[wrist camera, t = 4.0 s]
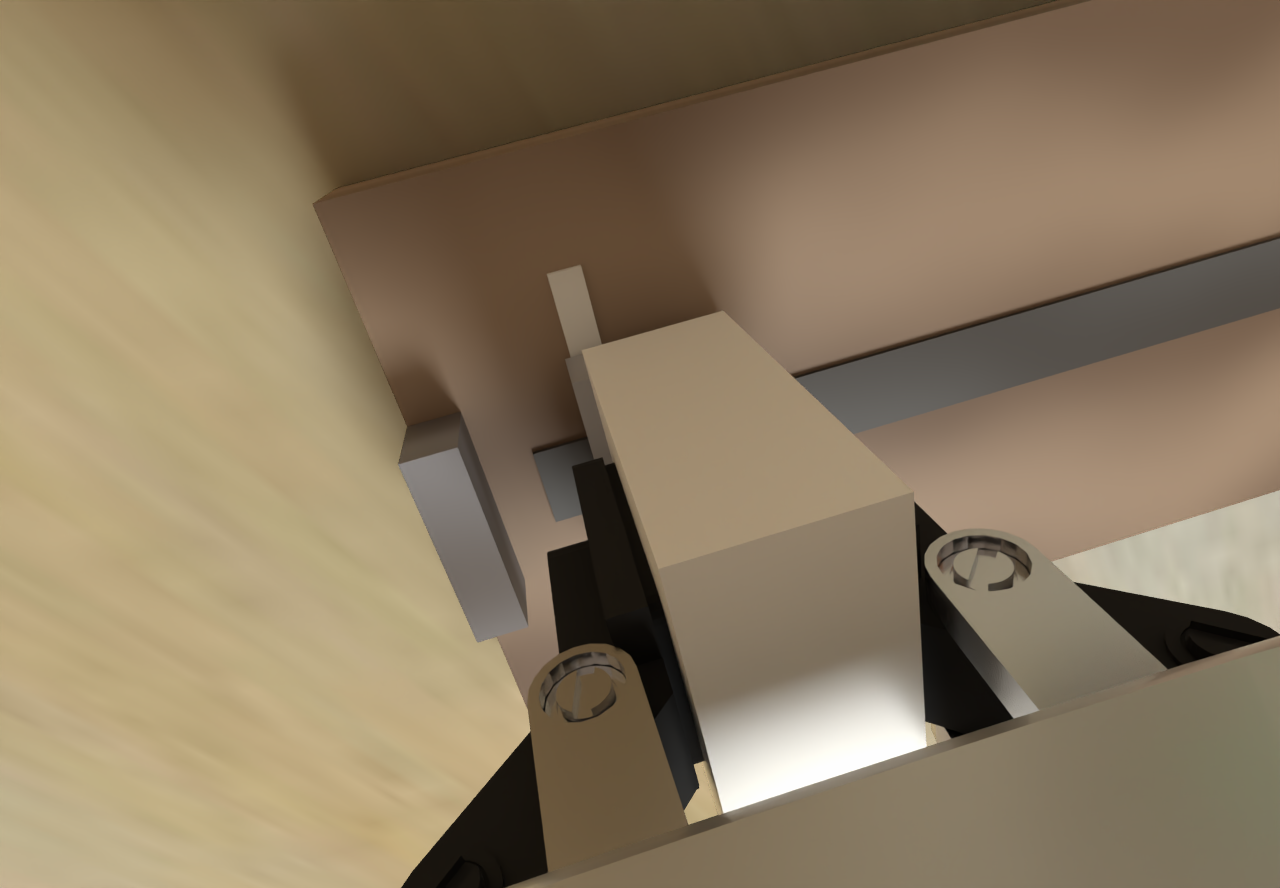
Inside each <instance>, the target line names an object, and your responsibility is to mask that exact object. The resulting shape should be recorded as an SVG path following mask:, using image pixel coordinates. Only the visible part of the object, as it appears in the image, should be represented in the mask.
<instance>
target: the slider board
mask: <svg viewBox="0 0 1280 888" xmlns="http://www.w3.org/2000/svg"><path fill="white" fill-rule="evenodd" d="M313 206H314V208H315V211H316V213H317V216H318V218H319V220H320V223H321V225H322V227H323V230H324V232H325V234H326V237H327V239H328V241H329V244H330V246H331V248H332V251H333V253H334V255H335V258H336V260H337V263H338V265H339V267H340V270H341V272H342V274H343V277H344V279H345V281H346V284H347V286H348V288H349V291H350V293H351V295H352V298H353V300H354V302H355V305H356V307H357V310H358V312H359V314H360V317H361V319H362V321H363V324H364V326H365V328H366V331H367V333H368V335H369V338H370V340H371V342H372V345H373V347H374V349H375V352H376V354H377V357H378V359H379V361H380V364H381V366H382V368H383V371H384V373H385V375H386V378H387V380H388V382H389V385H390V387H391V389H392V392H393V394H394V396H395V399H396V401H397V404H398V406H399V408H400V411H401V413H402V415H403V418H404V420H405V422H406V425H407V430H406V434H405V438H404V442H403V446H402V451H401V455H400V459H399V463H398V465H399V468H400V470H401V472H402V474H403V477H404V479H405V481H406V483H407V486H408V488H409V490H410V492H411V495H412V497H413V499H414V501H415V504H416V506H417V508H418V510H419V513H420V515H421V517H422V519H423V522H424V524H425V526H426V528H427V531H428V533H429V535H430V537H431V539H432V542H433V544H434V546H435V548H436V551H437V553H438V555H439V557H440V560H441V562H442V564H443V566H444V569H445V571H446V573H447V575H448V578H449V580H450V582H451V584H452V587H453V589H454V591H455V593H456V596H457V598H458V600H459V602H460V605H461V607H462V609H463V611H464V614H465V616H466V618H467V620H468V623H469V625H470V627H471V629H472V632H473V634H474V636H475V638H476V641H477V642H481V641H484V640H487V639H491V638H494V637H497V638H498V641H499V643H500V646H501V648H502V650H503V653H504V655H505V657H506V660H507V662H508V664H509V667H510V669H511V671H512V674H513V676H514V678H515V681H516V683H517V685H518V688H519V690H520V693H521V695H522V697H523V700H524V702H525V704H526V707H527V701H528V690H529V688H530V686H531V684H532V681H533V679H534V677H535V676H536V675H537V673H538V672H539V671H540V670H541V669H542V667H543V666H544V665H545V664H546V663H548V662H549V661H550V660H552V659H553V658H554V657H556V656H557V655H558V654H559V649H558V641H557V633H556V625H555V616H554V608H553V600H552V592H551V584H550V576H549V568H548V560H547V553H548V552H549V551H552V550H556V549H559V548H562V547H566V546H569V545H573V544H576V543H579V542H583V541H586V540H588V539H587V534H586V529H585V525H584V520H583V516H582V511H581V507H580V502H579V497H578V493H577V488H576V484H575V479H574V475H573V470H572V466H574V465H577V464H580V463H584V462H587V461H591V460H594V457H593V454H592V451H591V447H590V444H589V440H588V437H587V434H586V430H585V427H584V423H583V420H582V417H581V413H580V410H579V406H578V403H577V400H576V396H575V393H574V389H573V386H572V382H571V379H570V375H569V372H568V368H567V365H566V361H565V359H567V358H570V357H574V356H578V355H581V354H582V350H584V349H588V348H592V347H595V346H599V345H602V344H606V343H609V342H613V341H617V340H620V339H624V338H627V337H631V336H634V335H638V334H641V333H645V332H649V331H652V330H656V329H659V328H663V327H666V326H670V325H674V324H677V323H681V322H684V321H688V320H691V319H695V318H698V317H702V316H706V315H709V314H713V313H716V312H720V311H724V312H725V313H726V314H727V315H728V316H729V317H730V318H731V319H733V320H734V321H735V322H736V323H737V324H738V325H739V326H740V327H741V328H742V329H743V330H744V331H745V332H746V333H747V334H748V335H749V336H750V337H751V338H753V339H754V340H755V341H756V342H757V343H758V344H759V345H760V346H761V347H762V348H763V349H764V350H765V351H766V352H767V353H768V354H769V355H770V356H771V357H773V358H774V359H775V360H776V361H777V362H778V363H779V364H780V365H781V366H782V367H783V368H784V369H785V370H786V371H787V372H788V373H789V374H790V375H791V376H793V377H794V378H795V379H796V380H797V381H798V382H799V383H800V384H801V385H802V386H803V387H804V388H805V389H806V390H807V391H808V392H809V393H810V394H811V395H813V396H814V397H815V398H816V399H817V400H818V401H819V402H820V403H821V404H822V405H823V406H824V407H825V408H826V409H827V410H828V411H829V412H830V413H831V414H833V415H834V416H835V417H836V418H837V419H838V420H839V421H840V422H841V423H842V424H843V425H844V426H845V427H846V428H847V429H848V430H849V431H850V432H851V433H853V434H854V435H855V436H856V437H857V438H858V439H859V440H860V441H861V442H862V443H863V444H864V445H865V446H866V447H867V448H868V449H869V450H870V451H871V452H873V453H874V454H875V455H876V456H877V457H878V458H879V459H880V460H881V461H882V462H883V463H884V464H885V465H886V466H887V467H888V468H889V469H890V470H891V471H893V472H894V473H895V474H896V475H897V476H898V477H899V478H900V479H901V480H902V481H903V482H904V483H905V484H906V485H907V486H908V487H909V488H910V489H911V490H913V491H914V501H915V502H916V503H917V504H918V505H919V506H920V507H921V508H922V509H923V510H924V511H925V512H926V513H927V514H928V515H929V516H930V517H931V518H932V519H933V520H934V521H935V522H936V523H937V524H938V525H939V526H940V527H941V528H942V529H943V530H944V531H945V532H946V533H947V534H948V533H951V532H953V531H958V530H965V529H971V528H973V529H993V530H998V531H1003V532H1007V533H1010V534H1012V535H1015V536H1018V537H1020V538H1023V539H1024V540H1026V541H1027V542H1028V543H1030V544H1031V545H1033V546H1034V547H1036V548H1037V549H1038V550H1039V551H1040V552H1041V553H1042V554H1043V555H1044V556H1045V557H1047V558H1048V559H1049V560H1050V561H1055V560H1058V559H1061V558H1064V557H1067V556H1071V555H1074V554H1077V553H1080V552H1083V551H1086V550H1090V549H1093V548H1096V547H1099V546H1102V545H1106V544H1109V543H1112V542H1115V541H1118V540H1122V539H1125V538H1128V537H1131V536H1134V535H1138V534H1141V533H1144V532H1147V531H1150V530H1154V529H1157V528H1160V527H1163V526H1166V525H1169V524H1173V523H1176V522H1179V521H1182V520H1185V519H1189V518H1192V517H1195V516H1198V515H1201V514H1205V513H1208V512H1211V511H1214V510H1217V509H1221V508H1224V507H1227V506H1230V505H1233V504H1237V503H1240V502H1243V501H1246V500H1249V499H1253V498H1256V497H1259V496H1262V495H1265V494H1268V493H1272V492H1275V491H1278V490H1280V0H1058V1H1054V2H1050V3H1046V4H1042V5H1038V6H1035V7H1031V8H1027V9H1023V10H1019V11H1015V12H1012V13H1008V14H1004V15H1000V16H996V17H992V18H989V19H985V20H981V21H977V22H973V23H969V24H966V25H962V26H958V27H954V28H950V29H946V30H942V31H939V32H935V33H931V34H927V35H923V36H919V37H916V38H912V39H908V40H904V41H900V42H896V43H893V44H889V45H885V46H881V47H877V48H873V49H870V50H866V51H862V52H858V53H854V54H850V55H846V56H843V57H839V58H835V59H831V60H827V61H823V62H820V63H816V64H812V65H808V66H804V67H800V68H797V69H793V70H789V71H785V72H781V73H777V74H773V75H770V76H766V77H762V78H758V79H754V80H750V81H747V82H743V83H739V84H735V85H731V86H727V87H724V88H720V89H716V90H712V91H708V92H704V93H701V94H697V95H693V96H689V97H685V98H681V99H677V100H674V101H670V102H666V103H662V104H658V105H654V106H651V107H647V108H643V109H639V110H635V111H631V112H628V113H624V114H620V115H616V116H612V117H608V118H605V119H601V120H597V121H593V122H589V123H585V124H581V125H578V126H574V127H570V128H566V129H562V130H558V131H555V132H551V133H547V134H543V135H539V136H535V137H532V138H528V139H524V140H520V141H516V142H512V143H509V144H505V145H501V146H497V147H493V148H489V149H485V150H482V151H478V152H474V153H470V154H466V155H462V156H459V157H455V158H451V159H447V160H443V161H439V162H436V163H432V164H428V165H424V166H420V167H416V168H412V169H409V170H405V171H401V172H397V173H393V174H389V175H386V176H382V177H378V178H374V179H370V180H366V181H363V182H359V183H355V184H351V185H347V186H343V187H340V188H336V189H335V190H333V191H332V192H330V193H329V194H327V195H325V196H324V197H322V198H321V199H319V200H318V201H316V202H315V203H313ZM527 709H528V707H527Z"/></svg>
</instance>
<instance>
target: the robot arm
mask: <svg viewBox="0 0 1280 888" xmlns="http://www.w3.org/2000/svg"><path fill="white" fill-rule="evenodd" d="M572 470H573V475H574V479H575V484H576V488H577V493H578V497H579V502H580V507H581V511H582V516H583V520H584V525H585V529H586V534H587V539H588V540H586V541H583V542H579V543H576V544H573V545H569V546H566V547H562V548H559V549H556V550H552V551H549V552H548V553H547V560H548V568H549V576H550V584H551V592H552V600H553V608H554V616H555V625H556V633H557V641H558V649H559V654H558V655H557V656H556V657H554V658H553V659H552V660H550V661H549V662H548V663H546V664H545V665H544V666H543V667H542V669H541V670H540V671H539V672H538V673H537V675H536V676H535V677H534V679H533V681H532V684H531V686H530V688H529V690H528V701H527V707H528V715H529V723H530V733H529V734H528V735H527V736H526V737H525V739H524V740H523V741H522V742H521V743H520V744H519V746H518V747H517V748H516V749H515V750H514V752H513V753H512V754H511V755H510V756H509V758H508V759H507V760H506V761H505V762H504V763H503V765H502V766H501V767H500V768H499V769H498V771H497V772H496V773H495V774H494V775H493V777H492V778H491V779H490V780H489V781H488V782H487V784H486V785H485V786H484V787H483V788H482V790H481V791H480V792H479V793H478V794H477V795H476V797H475V798H474V799H473V800H472V801H471V803H470V804H469V805H468V806H467V807H466V809H465V810H464V811H463V812H462V813H461V814H460V816H459V817H458V818H457V819H456V820H455V822H454V823H453V824H452V825H451V826H450V827H449V829H448V830H447V831H446V832H445V833H444V835H443V836H442V837H441V838H440V839H439V841H438V842H437V843H436V844H435V845H434V846H433V848H432V849H431V850H430V851H429V852H428V854H427V855H426V856H425V857H424V858H423V859H422V861H421V862H420V863H419V864H418V865H417V867H416V868H415V869H414V870H413V871H412V873H411V874H410V876H409V877H408V879H407V880H406V882H405V883H404V885H403V886H402V887H401V888H1280V634H1279V633H1277V632H1276V631H1274V630H1273V629H1271V628H1270V627H1267V626H1265V625H1263V624H1261V623H1259V622H1256V621H1254V620H1252V619H1250V618H1247V617H1244V616H1240V615H1237V614H1233V613H1229V612H1226V611H1221V610H1216V609H1211V608H1205V607H1200V606H1195V605H1190V604H1185V603H1180V602H1174V601H1169V600H1164V599H1159V598H1154V597H1148V596H1143V595H1138V594H1133V593H1128V592H1122V591H1117V590H1112V589H1107V588H1102V587H1097V586H1091V585H1086V584H1081V583H1076V582H1073V581H1072V580H1070V579H1069V578H1068V577H1067V576H1066V575H1065V574H1064V573H1063V572H1062V571H1061V570H1060V569H1059V568H1057V567H1056V566H1055V565H1054V564H1053V563H1052V562H1051V561H1050V560H1049V559H1048V558H1047V557H1045V556H1044V555H1043V554H1042V553H1041V552H1040V551H1039V550H1038V549H1037V548H1036V547H1034V546H1033V545H1031V544H1030V543H1028V542H1027V541H1026V540H1024V539H1023V538H1020V537H1018V536H1015V535H1012V534H1010V533H1007V532H1003V531H998V530H993V529H973V528H971V529H965V530H958V531H953V532H951V533H948V534H947V533H946V532H945V531H944V530H943V529H942V528H941V527H940V526H939V525H938V524H937V523H936V522H935V521H934V520H933V519H932V518H931V517H930V516H929V515H928V514H927V513H926V512H925V511H924V510H923V509H922V508H921V507H920V506H919V505H918V504H917V503H916V502H915V501H914V507H915V527H916V547H917V567H918V588H919V608H920V628H921V648H922V668H923V689H924V709H925V721H926V722H929V723H931V729H932V732H933V734H934V737H935V739H936V741H937V744H934V745H931V746H928V747H925V748H922V749H918V750H915V751H912V752H909V753H906V754H903V755H900V756H897V757H894V758H891V759H888V760H885V761H882V762H878V763H875V764H872V765H869V766H866V767H863V768H860V769H857V770H854V771H851V772H848V773H845V774H842V775H839V776H836V777H832V778H829V779H826V780H823V781H820V782H817V783H814V784H811V785H808V786H805V787H802V788H799V789H796V790H793V791H790V792H787V793H784V794H781V795H778V796H774V797H771V798H768V799H765V800H762V801H759V802H756V803H753V804H750V805H747V806H744V807H741V808H738V809H735V810H732V811H729V812H726V813H723V814H720V815H717V816H714V817H711V818H708V819H705V820H702V821H699V822H696V823H693V824H690V825H688V822H687V819H686V816H685V813H684V810H685V808H686V806H687V805H688V803H689V801H690V800H691V798H692V796H693V795H694V793H695V791H696V790H697V789H699V783H698V779H697V775H696V772H695V768H694V765H693V764H696V763H699V762H703V761H704V757H703V754H702V750H701V746H700V743H699V739H698V735H697V732H696V728H695V724H694V720H693V717H692V713H691V709H690V706H689V702H688V698H687V695H686V691H685V687H684V684H683V680H682V676H681V673H680V669H679V665H678V661H677V658H676V654H675V650H674V647H673V643H672V639H671V636H670V632H669V628H668V625H667V621H666V617H665V614H664V610H663V607H662V604H661V600H660V597H659V594H658V591H657V588H656V585H655V582H654V579H653V576H652V573H651V570H650V567H649V564H648V561H647V558H646V555H645V552H644V549H643V546H642V543H641V540H640V537H639V534H638V531H637V528H636V525H635V522H634V519H633V516H632V513H631V510H630V507H629V504H628V501H627V498H626V495H625V492H624V489H623V486H622V483H621V480H620V477H619V474H618V471H617V468H616V465H615V463H611V464H607V465H605V464H604V461H603V457H601V458H598V459H594V460H591V461H587V462H584V463H580V464H577V465H574V466H572Z"/></svg>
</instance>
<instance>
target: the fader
mask: <svg viewBox="0 0 1280 888" xmlns="http://www.w3.org/2000/svg"><path fill="white" fill-rule="evenodd" d="M565 361H566V365H567V368H568V372H569V375H570V379H571V382H572V386H573V389H574V393H575V396H576V400H577V403H578V406H579V410H580V413H581V417H582V420H583V423H584V427H585V430H586V434H587V437H588V440H589V444H590V447H591V451H592V454H593V457H594V459H598V458H601V457H603V461H604V464H605V465H607V464H611V463H615V465H616V468H617V471H618V474H619V477H620V480H621V483H622V486H623V489H624V492H625V495H626V498H627V501H628V504H629V507H630V510H631V513H632V516H633V519H634V522H635V525H636V528H637V531H638V534H639V537H640V540H641V543H642V546H643V549H644V552H645V555H646V558H647V561H648V564H649V567H650V570H651V573H652V576H653V579H654V582H655V585H656V588H657V591H658V594H659V597H660V600H661V604H662V607H663V610H664V614H665V617H666V621H667V625H668V628H669V632H670V636H671V639H672V643H673V647H674V650H675V654H676V658H677V661H678V665H679V669H680V673H681V676H682V680H683V684H684V687H685V691H686V695H687V698H688V702H689V706H690V709H691V713H692V717H693V720H694V724H695V728H696V732H697V735H698V739H699V743H700V746H701V750H702V754H703V757H704V761H703V762H702V766H703V769H704V772H705V775H706V778H707V781H708V785H709V788H710V791H711V794H712V797H713V800H714V804H715V807H716V810H717V813H718V815H720V814H723V813H726V812H729V811H732V810H735V809H738V808H741V807H744V806H747V805H750V804H753V803H756V802H759V801H762V800H765V799H768V798H771V797H774V796H778V795H781V794H784V793H787V792H790V791H793V790H796V789H799V788H802V787H805V786H808V785H811V784H814V783H817V782H820V781H823V780H826V779H829V778H832V777H836V776H839V775H842V774H845V773H848V772H851V771H854V770H857V769H860V768H863V767H866V766H869V765H872V764H875V763H878V762H882V761H885V760H888V759H891V758H894V757H897V756H900V755H903V754H906V753H909V752H912V751H915V750H918V749H922V748H925V747H926V729H925V709H924V689H923V668H922V648H921V628H920V608H919V588H918V567H917V547H916V527H915V507H914V491H913V490H911V489H910V488H909V487H908V486H907V485H906V484H905V483H904V482H903V481H902V480H901V479H900V478H899V477H898V476H897V475H896V474H895V473H894V472H893V471H891V470H890V469H889V468H888V467H887V466H886V465H885V464H884V463H883V462H882V461H881V460H880V459H879V458H878V457H877V456H876V455H875V454H874V453H873V452H871V451H870V450H869V449H868V448H867V447H866V446H865V445H864V444H863V443H862V442H861V441H860V440H859V439H858V438H857V437H856V436H855V435H854V434H853V433H851V432H850V431H849V430H848V429H847V428H846V427H845V426H844V425H843V424H842V423H841V422H840V421H839V420H838V419H837V418H836V417H835V416H834V415H833V414H831V413H830V412H829V411H828V410H827V409H826V408H825V407H824V406H823V405H822V404H821V403H820V402H819V401H818V400H817V399H816V398H815V397H814V396H813V395H811V394H810V393H809V392H808V391H807V390H806V389H805V388H804V387H803V386H802V385H801V384H800V383H799V382H798V381H797V380H796V379H795V378H794V377H793V376H791V375H790V374H789V373H788V372H787V371H786V370H785V369H784V368H783V367H782V366H781V365H780V364H779V363H778V362H777V361H776V360H775V359H774V358H773V357H771V356H770V355H769V354H768V353H767V352H766V351H765V350H764V349H763V348H762V347H761V346H760V345H759V344H758V343H757V342H756V341H755V340H754V339H753V338H751V337H750V336H749V335H748V334H747V333H746V332H745V331H744V330H743V329H742V328H741V327H740V326H739V325H738V324H737V323H736V322H735V321H734V320H733V319H731V318H730V317H729V316H728V315H727V314H726V313H725V312H724V311H720V312H716V313H713V314H709V315H706V316H702V317H698V318H695V319H691V320H688V321H684V322H681V323H677V324H674V325H670V326H666V327H663V328H659V329H656V330H652V331H649V332H645V333H641V334H638V335H634V336H631V337H627V338H624V339H620V340H617V341H613V342H609V343H606V344H602V345H599V346H595V347H592V348H588V349H584V350H582V354H581V355H578V356H574V357H570V358H567V359H565Z"/></svg>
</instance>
